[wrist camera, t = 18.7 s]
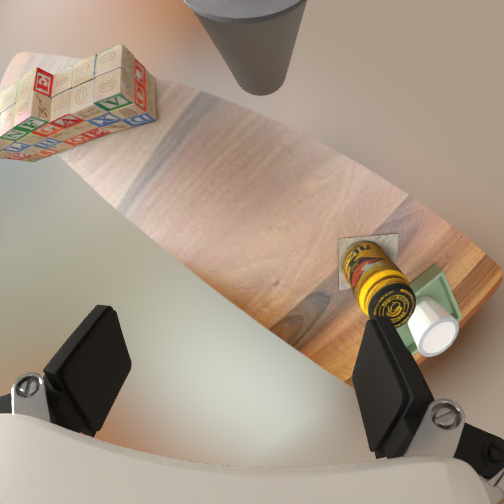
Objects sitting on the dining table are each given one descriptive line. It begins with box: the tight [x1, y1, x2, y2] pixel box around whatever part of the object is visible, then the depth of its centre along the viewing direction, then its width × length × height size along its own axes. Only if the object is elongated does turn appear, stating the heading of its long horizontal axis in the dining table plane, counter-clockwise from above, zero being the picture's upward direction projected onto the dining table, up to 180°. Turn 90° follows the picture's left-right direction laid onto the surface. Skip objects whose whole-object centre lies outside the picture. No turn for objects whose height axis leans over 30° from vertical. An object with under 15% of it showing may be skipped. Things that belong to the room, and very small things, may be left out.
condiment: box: [338, 234, 416, 328], centre depth 31 cm, size 7×8×12 cm
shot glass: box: [407, 296, 459, 357], centre depth 35 cm, size 7×7×7 cm
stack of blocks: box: [0, 44, 156, 162], centre depth 25 cm, size 21×6×12 cm, turn 97°
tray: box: [396, 264, 462, 356], centre depth 38 cm, size 11×11×2 cm
